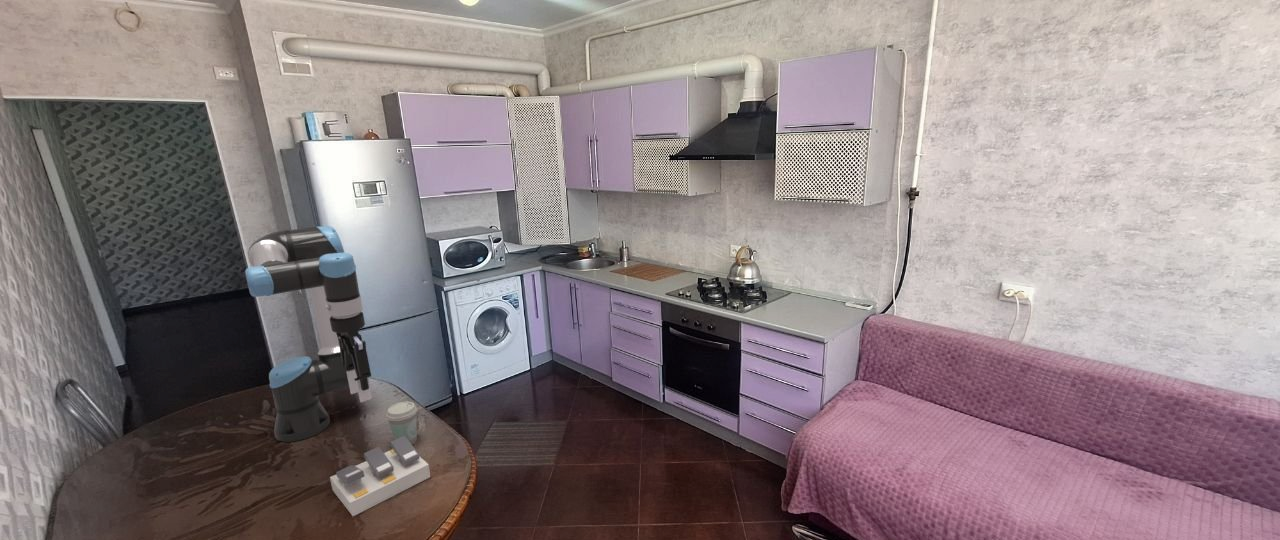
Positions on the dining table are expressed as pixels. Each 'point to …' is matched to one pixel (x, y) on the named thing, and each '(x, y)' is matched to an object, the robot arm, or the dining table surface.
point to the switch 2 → (378, 462)
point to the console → (379, 483)
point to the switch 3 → (404, 450)
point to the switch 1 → (350, 474)
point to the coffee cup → (403, 420)
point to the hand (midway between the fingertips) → (361, 395)
